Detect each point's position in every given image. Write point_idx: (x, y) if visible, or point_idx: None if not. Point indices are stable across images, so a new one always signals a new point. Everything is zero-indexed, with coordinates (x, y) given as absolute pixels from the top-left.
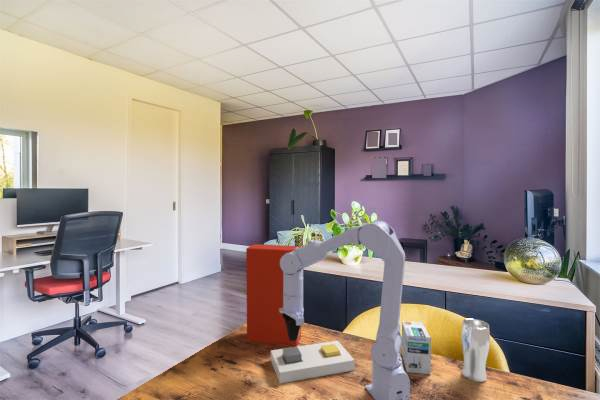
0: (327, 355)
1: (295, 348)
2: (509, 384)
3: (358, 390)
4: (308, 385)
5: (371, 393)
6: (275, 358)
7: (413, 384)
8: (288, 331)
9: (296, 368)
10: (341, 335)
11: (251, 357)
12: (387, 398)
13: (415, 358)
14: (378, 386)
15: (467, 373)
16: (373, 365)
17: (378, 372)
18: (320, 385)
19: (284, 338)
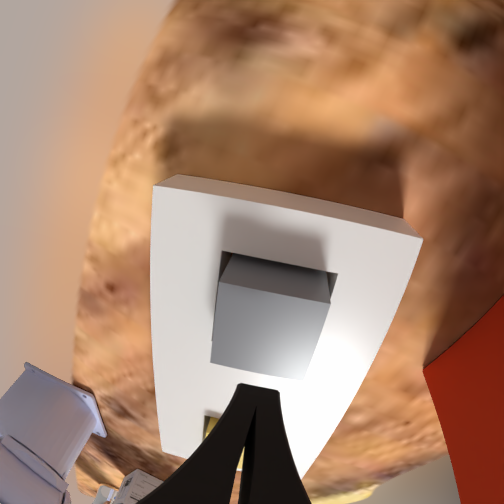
0: (208, 426)
1: (289, 367)
2: (95, 489)
3: (86, 376)
4: (129, 280)
5: (64, 384)
6: (319, 224)
7: (99, 447)
8: (208, 446)
9: (162, 284)
10: (365, 479)
11: (475, 140)
12: (16, 383)
13: (121, 495)
14: (35, 400)
15: (107, 491)
16: (29, 437)
17: (17, 423)
18: (120, 315)
19: (478, 352)
